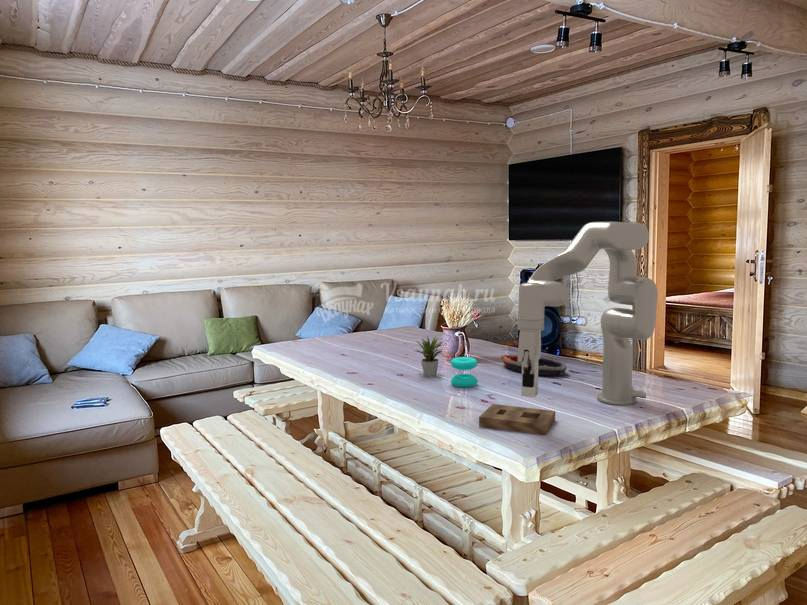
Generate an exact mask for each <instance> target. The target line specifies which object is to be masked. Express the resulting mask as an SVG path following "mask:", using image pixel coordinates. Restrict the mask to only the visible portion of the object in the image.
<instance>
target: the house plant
mask: <svg viewBox="0 0 807 605" xmlns="http://www.w3.org/2000/svg"><path fill="white" fill-rule="evenodd" d="M426 337H427V339H426V340H425V339H424V338H423V337H421V340H422V342H421V343H420V342H419V341H417V344H418V345H419V346H420V347H421V349H422V350H421V351H420V350H415V351H413V352H415V353H420V354H422V355H423V357H424V358H422V359H421V367H422V371H423V376H425V377H436V376H437V373H438V368H439V359H438V358H436V357H437V356H438V355H439V354H441V355H443V356H444V353H443V348H441V349H438V348H440V347H441V346H445V345H446V344H444V343H445V342H446V341H447V339H445V340H442V341H439V342H438V339H439V337H436V336H434V337H433V338H432V341H430V339H429V336H428V335H426Z"/></svg>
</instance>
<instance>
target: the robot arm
mask: <svg viewBox="0 0 807 605" xmlns="http://www.w3.org/2000/svg"><path fill="white" fill-rule="evenodd" d="M649 237H650V233H649V230H648V228H647V226H646V225H644V224H643V223H640V222H623V221H622V222H621V221H592V222H588V223H586V224H584V225H583V226H582V227H581V229H579V231H578V232H577V234H576V235H575V236H574V237H573V239H572V240H571V242H569V244H568V245H567V246H566V248H565V249H564V250H563V252H561V253H560V254H558V255H555V256H554V257H552V258H551V259H549V260H547V261H546V262H544V263H542V264H541V265H540V266H539V267H538V268H537V269H536V270H535V271H534V272H533V274H531V276H530V277H529V278H528V280H527V282H523V283H520V284H519V286H518V305H517V306H518V311H517V312H518V313H517V314H518V315H517V329H518V331H519V335H518V349H517V355H518V363H522V361H523V381H522V380H521V387H522V386H523V387H531V388H532V387H533V386H534V374H533V364H534V363H536V362H537V361H538V360H539V359H540V358H541V352H542V331H544V330H545V307H555V308H556V307H561V306H563V305H565V304H566V303H567V302H568V301H569V298H570V296H571V292H570V289H569V287H568V286H567V285H566V284H565V283H563V282H561V281H557V280H559V279H562V278H564V277H567V276H573V275H576V274H578V273H580V272H583V271H585V270H586V269H587V267H588V266H589V265H590V263H591V261H592V260H593V259H594V258H595V257H596V255H597V254H598V253H599V251H600V250H604V251H605V253H606V255H607V257H608V260H609V273H608V283H607V284H608V286H607V298H608V299H609V301H611V302H612V303H614V304H619V305H626V306H634V309H630V308H625V307H624V308H623V307H611V308H608V309H606V310H604V312H603V313H602V314H601V317H600V327H601V328H600V329H601V333H602V334H601V335H602V344H603V345H602V347H603V348H602V349H603V350H602V351H603V352H602V388H601V389H602V392H600V393H598V394H597V400H598V401H600V402H602V403H605V404H609V405H617V406H625V405H632V404H636V402H637V400H638V399H637V398H640V399H646V398H647V393H646V392H644V391H643V390H636V389H634V388H635V387H634V386H633V367H634V366H633V364H634V363H633V362H634V349H633V344H632V342H631V340H638V341H647V340H648V339H650V338H651V337H652V336H653V334H654V332H655V328H656V321H657V320H656V319H657V308H658V296H659V292H658V286H657V284H656V282H655V281H654V280H653V279H651V278H649V277H646V276H645V277H644V276H638V275H637V269H638V268H637V267H638V266H637V263H638V262H637V257H636V255H635V253H634V251H635V250H636V251H638V250H641V249H643V248H644V247H645V246H646V245H647V244H648V242H649ZM522 359H523V360H522ZM528 361H530V362H531V364H530V363H528ZM529 366H530V367H529Z"/></svg>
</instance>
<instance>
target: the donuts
mask: <svg viewBox="0 0 807 605" xmlns="http://www.w3.org/2000/svg"><path fill="white" fill-rule="evenodd" d="M450 365H451V366H452V368H454V369H456V370H459V371H469V370H472V369H475V368H476V367H477V366H478V361H477V359H476V358H474V357H470V356H460V357H459V356H458V357H454V358H452V359H451V361H450ZM450 383H451V384H452V386H454V387H458V388H472V387H474V386H476V385H477V384H478V378H477V377H476V376H475V375H473V374H469V373H458V374H455V375H454V376H452V377H451V379H450Z"/></svg>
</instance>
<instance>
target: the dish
mask: <svg viewBox="0 0 807 605" xmlns="http://www.w3.org/2000/svg"><path fill="white" fill-rule="evenodd" d="M501 360H502V362H503V364H504V365H505V367H507V368H508V369H511V370H513V371H515V372H518V373H519V372H520V373H522V363H518V354H517V355H514V354H513V355H512V354H511V355H510V354H504V355H501ZM567 368H568V367H567V365H566V363H563V362H561V361H559V360H554V359H549V358H545V357H540V359H539V360H538V376H545V377H557V376H561V375H563V374H564V373H565V372H566V370H567Z"/></svg>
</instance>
